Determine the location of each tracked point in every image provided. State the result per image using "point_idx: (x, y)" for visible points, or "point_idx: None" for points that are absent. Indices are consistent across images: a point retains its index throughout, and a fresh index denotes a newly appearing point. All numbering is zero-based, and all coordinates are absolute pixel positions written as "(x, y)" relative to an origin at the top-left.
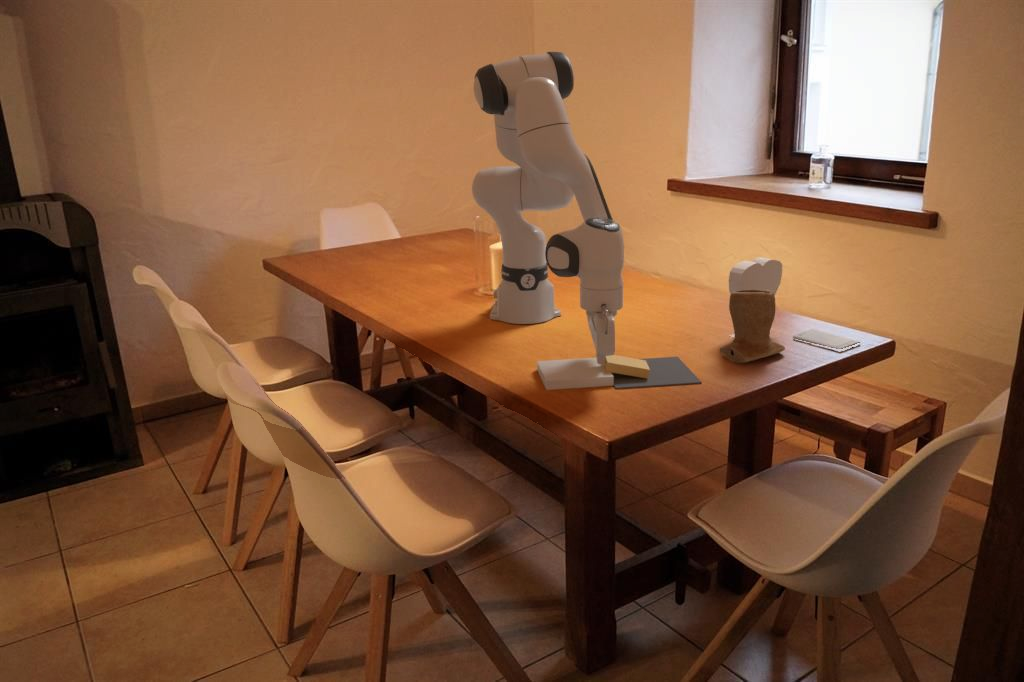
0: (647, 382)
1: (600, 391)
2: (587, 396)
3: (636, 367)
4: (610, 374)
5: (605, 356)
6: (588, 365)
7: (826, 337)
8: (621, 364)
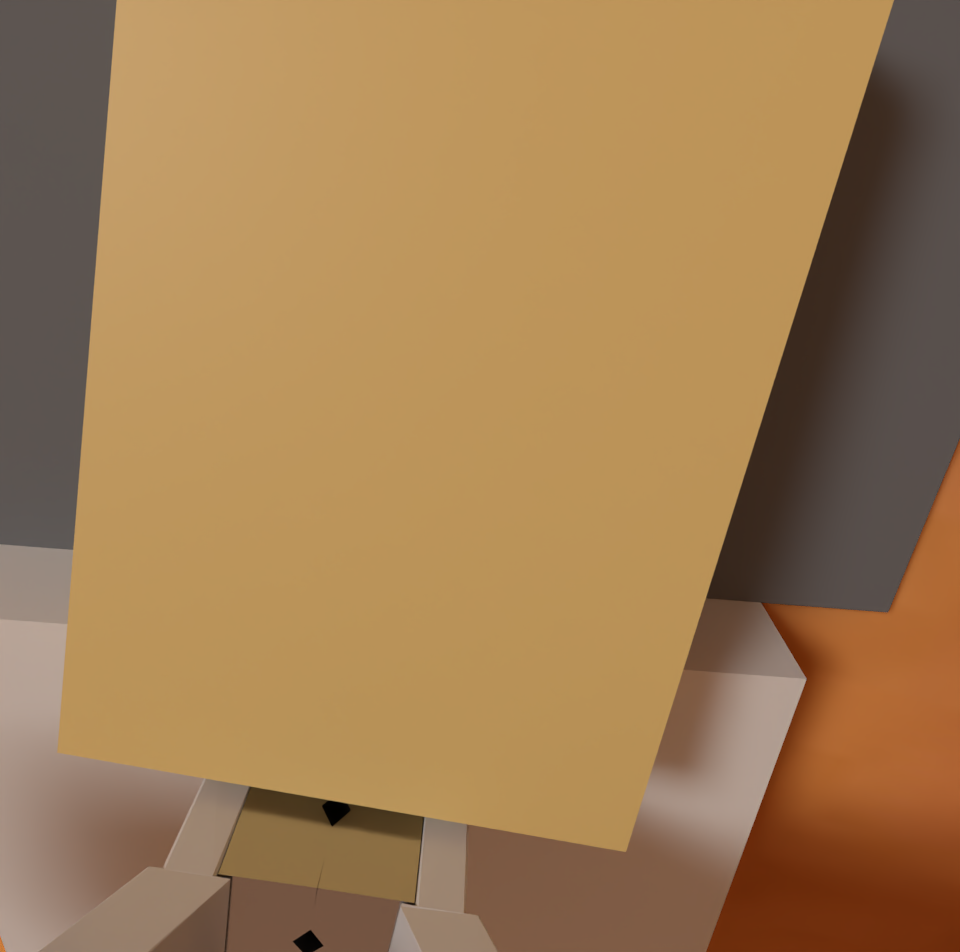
0: (954, 82)
1: (848, 752)
2: (905, 873)
3: (805, 266)
4: (709, 694)
5: (460, 905)
6: None
7: None
8: (686, 595)
